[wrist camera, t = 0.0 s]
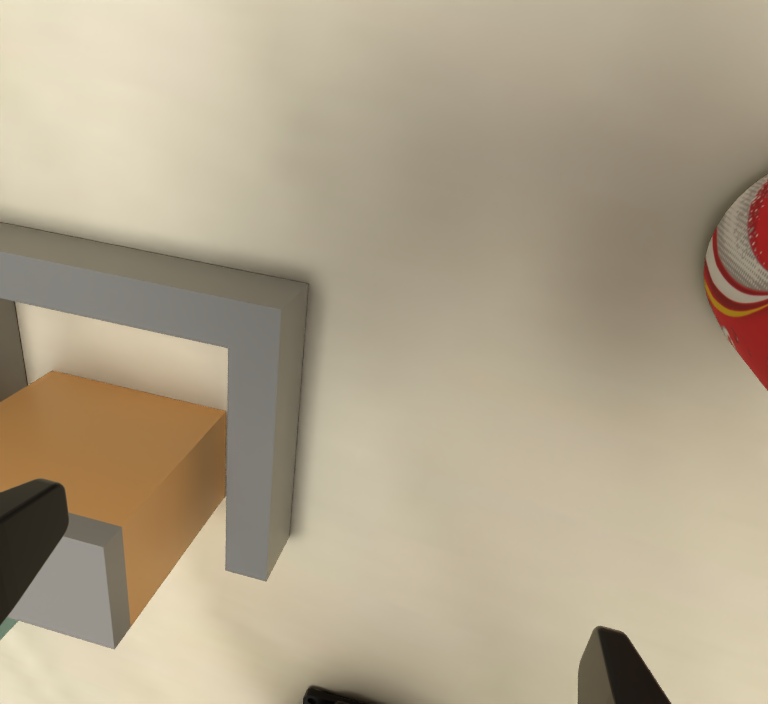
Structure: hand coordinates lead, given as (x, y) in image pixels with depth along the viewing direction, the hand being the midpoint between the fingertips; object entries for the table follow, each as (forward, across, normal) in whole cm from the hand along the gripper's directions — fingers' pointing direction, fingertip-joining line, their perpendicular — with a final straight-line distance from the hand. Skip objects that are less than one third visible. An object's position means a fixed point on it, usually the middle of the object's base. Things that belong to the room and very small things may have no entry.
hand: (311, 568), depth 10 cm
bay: (+15, +13, +8) cm, 21 cm away
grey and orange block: (+15, +13, +10) cm, 22 cm away
